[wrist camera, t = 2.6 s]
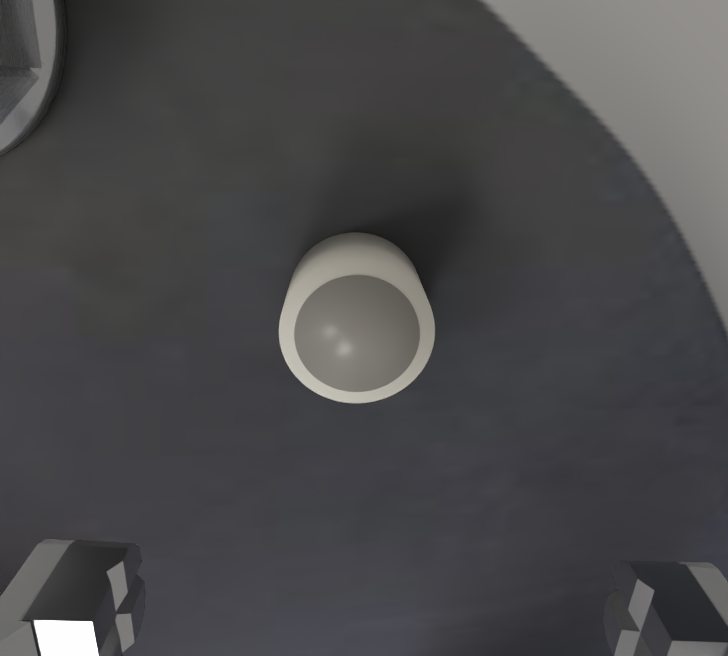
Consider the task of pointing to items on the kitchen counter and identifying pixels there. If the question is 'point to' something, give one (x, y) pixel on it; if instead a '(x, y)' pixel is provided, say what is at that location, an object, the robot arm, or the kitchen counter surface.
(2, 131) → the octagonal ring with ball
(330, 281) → the cap
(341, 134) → the kitchen counter surface
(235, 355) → the kitchen counter surface
